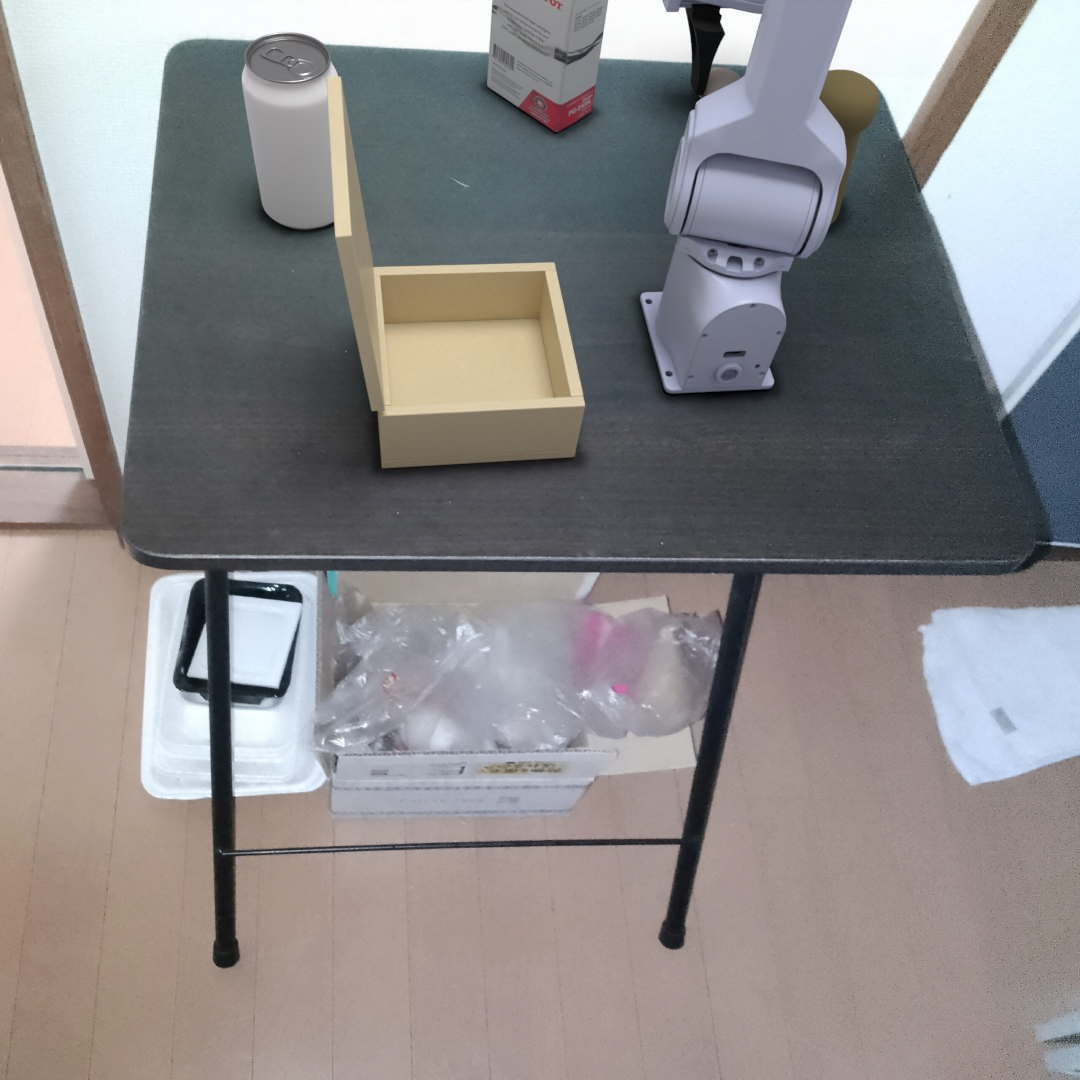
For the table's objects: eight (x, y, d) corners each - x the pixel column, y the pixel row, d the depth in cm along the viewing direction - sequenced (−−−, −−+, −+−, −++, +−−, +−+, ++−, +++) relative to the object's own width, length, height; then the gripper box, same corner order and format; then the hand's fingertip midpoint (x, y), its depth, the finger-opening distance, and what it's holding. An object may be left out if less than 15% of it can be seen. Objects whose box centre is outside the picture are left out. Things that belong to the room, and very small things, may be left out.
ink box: (594, 112, 85) (616, -27, 75) (555, 135, 83) (573, -5, 73) (522, 65, 88) (535, -75, 78) (483, 86, 86) (491, -55, 76)
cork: (817, 240, 79) (869, 118, 70) (753, 204, 81) (795, 81, 72) (851, 203, 82) (905, 81, 73) (788, 170, 84) (834, 47, 74)
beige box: (546, 317, 72) (554, 261, 67) (574, 457, 65) (585, 405, 61) (370, 324, 70) (367, 266, 65) (381, 468, 63) (378, 416, 59)
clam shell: (710, 80, 90) (717, 54, 87) (758, 104, 88) (766, 78, 86) (686, 101, 87) (693, 75, 85) (735, 126, 86) (743, 100, 84)
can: (312, 245, 73) (294, 98, 63) (243, 208, 75) (216, 58, 65) (365, 200, 77) (357, 53, 66) (299, 165, 78) (281, 16, 68)
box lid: (340, 75, 54) (326, 76, 54) (351, 235, 47) (334, 236, 47) (372, 261, 65) (360, 262, 65) (385, 410, 58) (371, 411, 58)
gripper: (845, -99, 78) (792, 61, 90) (669, -105, 76) (637, 60, 88) (874, -51, 75) (814, 110, 86) (690, -56, 72) (653, 110, 84)
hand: (726, 88), depth 87 cm, fingers open, 5 cm apart
